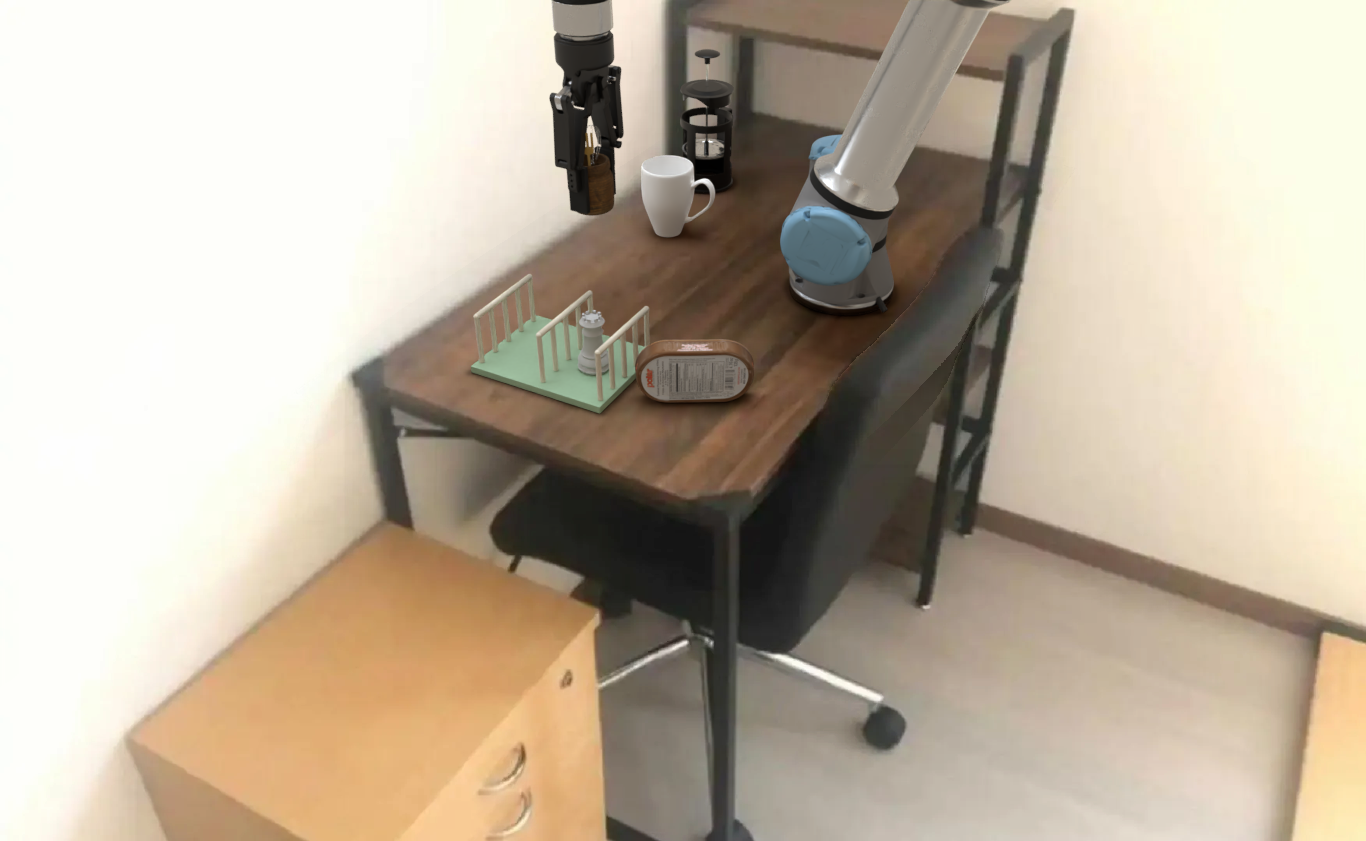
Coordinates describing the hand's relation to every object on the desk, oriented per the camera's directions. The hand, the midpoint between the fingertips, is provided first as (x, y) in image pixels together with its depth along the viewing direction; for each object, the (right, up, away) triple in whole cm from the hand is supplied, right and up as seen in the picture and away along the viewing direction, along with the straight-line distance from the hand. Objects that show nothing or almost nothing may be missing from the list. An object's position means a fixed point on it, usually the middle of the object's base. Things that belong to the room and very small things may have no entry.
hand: (593, 201), depth 154 cm
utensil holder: (0, -1, +1) cm, 1 cm away
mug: (+12, 0, +27) cm, 29 cm away
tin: (+14, -28, -11) cm, 33 cm away
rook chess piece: (+1, -23, -6) cm, 24 cm away
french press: (+17, +12, +43) cm, 48 cm away
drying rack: (-3, -23, -4) cm, 23 cm away
